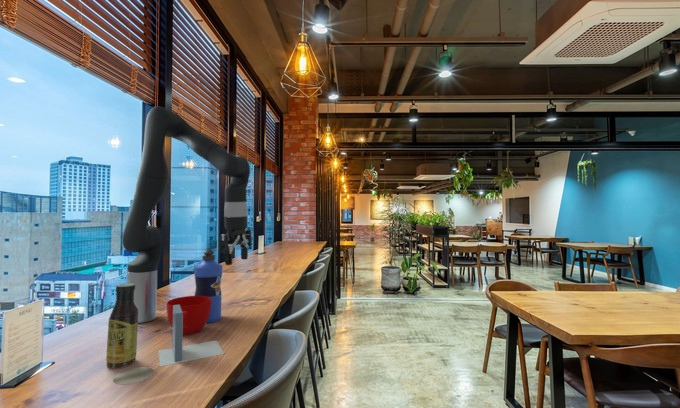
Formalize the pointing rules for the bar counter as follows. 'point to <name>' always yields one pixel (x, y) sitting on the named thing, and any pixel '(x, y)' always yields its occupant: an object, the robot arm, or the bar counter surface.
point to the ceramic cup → (191, 312)
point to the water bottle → (209, 283)
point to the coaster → (133, 375)
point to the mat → (191, 352)
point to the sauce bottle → (122, 329)
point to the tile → (177, 333)
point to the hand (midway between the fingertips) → (236, 261)
